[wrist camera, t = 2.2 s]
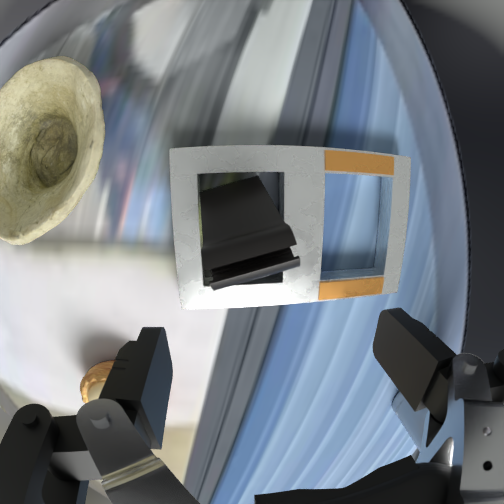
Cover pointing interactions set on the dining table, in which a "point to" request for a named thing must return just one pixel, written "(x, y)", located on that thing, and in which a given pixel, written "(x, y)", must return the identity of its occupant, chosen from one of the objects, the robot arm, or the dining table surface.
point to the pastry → (95, 381)
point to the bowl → (47, 145)
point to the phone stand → (243, 234)
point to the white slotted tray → (289, 222)
